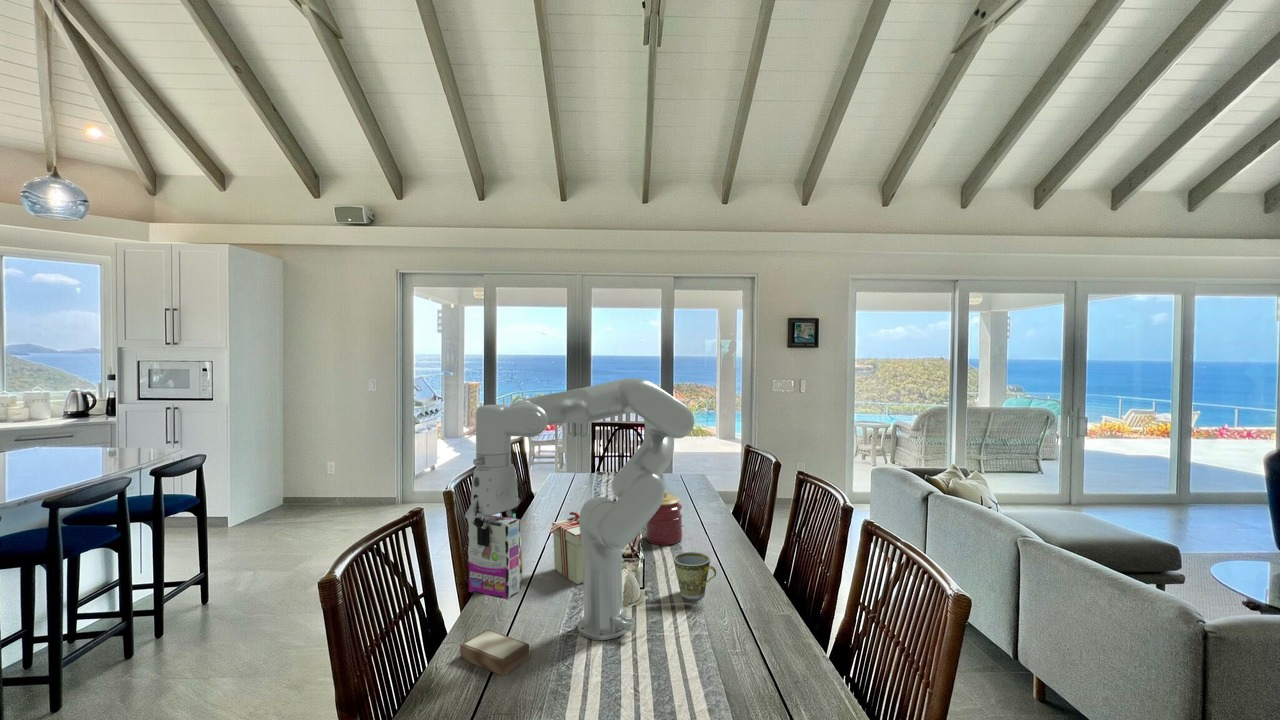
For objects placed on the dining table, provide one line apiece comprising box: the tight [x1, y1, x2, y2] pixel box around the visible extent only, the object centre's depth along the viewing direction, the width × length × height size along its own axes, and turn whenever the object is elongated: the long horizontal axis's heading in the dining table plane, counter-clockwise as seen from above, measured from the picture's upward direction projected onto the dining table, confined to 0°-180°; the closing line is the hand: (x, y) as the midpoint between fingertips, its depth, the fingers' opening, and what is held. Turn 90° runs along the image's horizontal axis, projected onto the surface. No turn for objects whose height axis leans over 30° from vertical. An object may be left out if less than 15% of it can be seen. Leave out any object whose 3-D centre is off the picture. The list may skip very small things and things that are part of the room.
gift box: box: [549, 511, 583, 585], centre depth 168 cm, size 17×18×17 cm
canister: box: [645, 490, 683, 546], centre depth 197 cm, size 13×13×18 cm
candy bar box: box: [467, 515, 522, 600], centre depth 123 cm, size 11×5×16 cm, turn 66°
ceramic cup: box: [673, 551, 717, 600], centre depth 151 cm, size 13×10×10 cm
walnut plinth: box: [459, 628, 530, 677], centre depth 122 cm, size 13×8×3 cm, turn 58°
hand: (494, 540), depth 123 cm, fingers closed on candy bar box, 5 cm apart
